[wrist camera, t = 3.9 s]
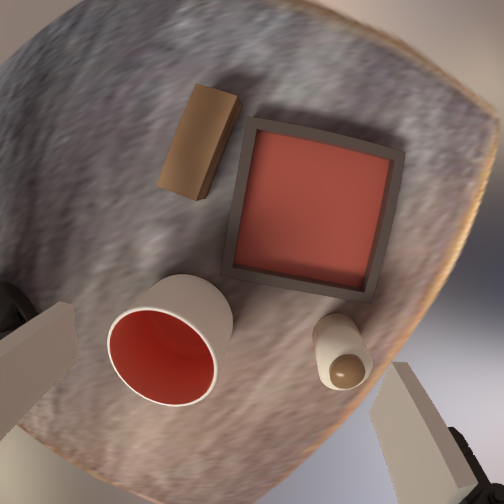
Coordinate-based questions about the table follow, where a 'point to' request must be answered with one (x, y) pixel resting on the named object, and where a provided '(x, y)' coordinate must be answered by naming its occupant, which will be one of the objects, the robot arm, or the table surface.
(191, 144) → the box
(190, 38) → the table surface
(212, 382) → the cup
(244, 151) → the tray
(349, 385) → the ceramic jar
